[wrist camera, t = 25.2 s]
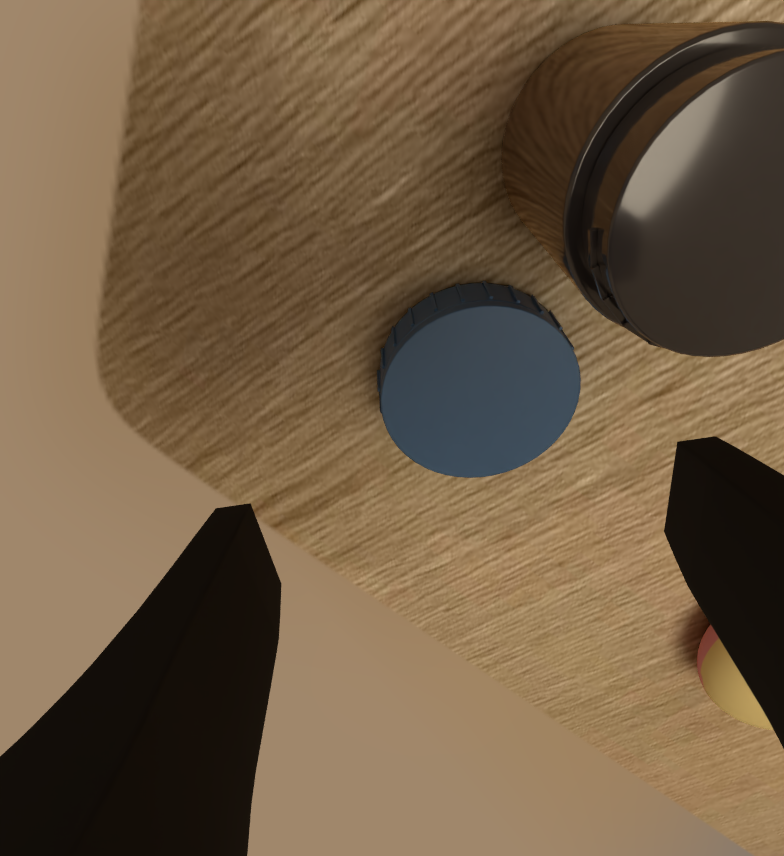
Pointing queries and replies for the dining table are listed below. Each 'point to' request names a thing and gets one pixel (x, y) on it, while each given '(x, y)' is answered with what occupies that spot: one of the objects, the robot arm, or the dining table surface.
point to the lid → (477, 380)
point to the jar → (661, 178)
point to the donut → (727, 682)
